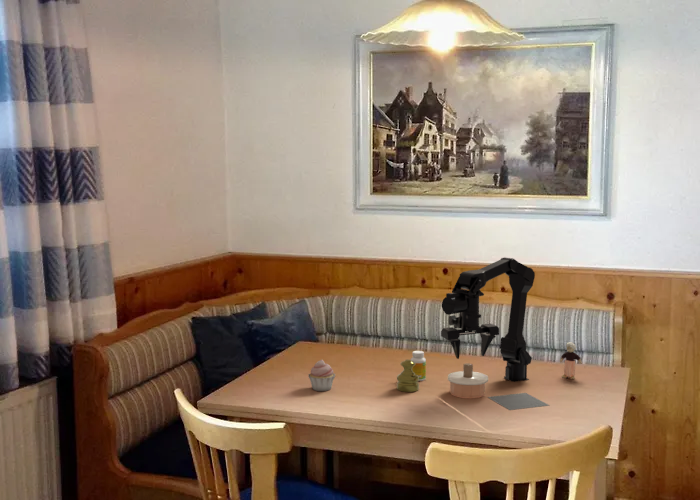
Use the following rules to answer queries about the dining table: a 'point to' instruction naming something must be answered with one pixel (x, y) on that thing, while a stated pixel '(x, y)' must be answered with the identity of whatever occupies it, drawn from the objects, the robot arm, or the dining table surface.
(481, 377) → the lid
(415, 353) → the supplement bottle
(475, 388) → the bowl
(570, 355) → the grandmother figurine
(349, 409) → the dining table surface
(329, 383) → the cupcake
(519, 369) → the robot arm
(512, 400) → the mat
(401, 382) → the olive green figurine
